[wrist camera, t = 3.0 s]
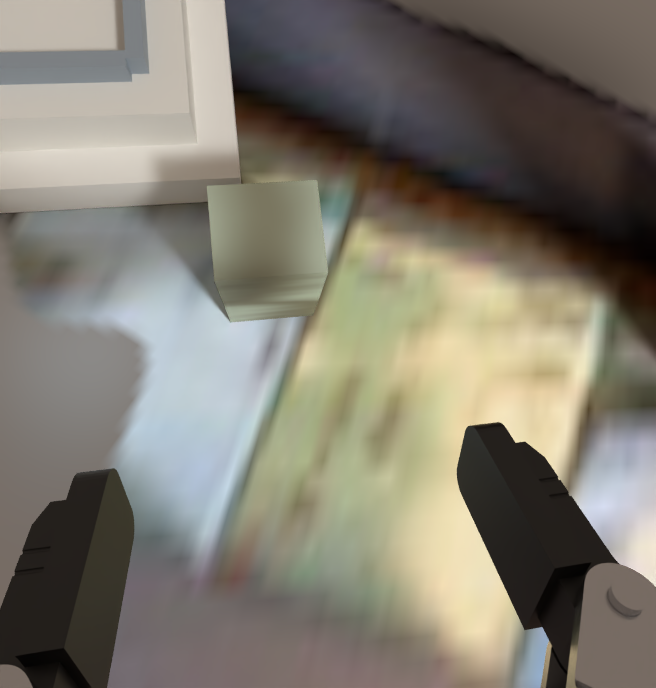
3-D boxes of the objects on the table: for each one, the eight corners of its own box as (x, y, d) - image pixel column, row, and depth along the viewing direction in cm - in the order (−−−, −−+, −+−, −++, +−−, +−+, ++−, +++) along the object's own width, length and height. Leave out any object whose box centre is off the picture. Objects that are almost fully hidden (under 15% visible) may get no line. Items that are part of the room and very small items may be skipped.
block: (305, 246, 28) (317, 180, 20) (313, 315, 27) (328, 272, 20) (224, 251, 27) (206, 186, 20) (230, 322, 26) (214, 280, 19)
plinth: (220, -42, 30) (208, -156, 24) (243, 199, 28) (234, 137, 22) (-61, -44, 28) (-150, -169, 22) (-66, 216, 26) (-167, 153, 20)
